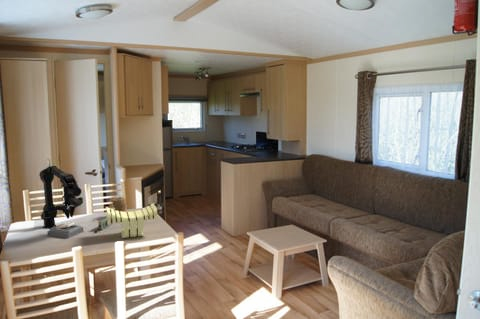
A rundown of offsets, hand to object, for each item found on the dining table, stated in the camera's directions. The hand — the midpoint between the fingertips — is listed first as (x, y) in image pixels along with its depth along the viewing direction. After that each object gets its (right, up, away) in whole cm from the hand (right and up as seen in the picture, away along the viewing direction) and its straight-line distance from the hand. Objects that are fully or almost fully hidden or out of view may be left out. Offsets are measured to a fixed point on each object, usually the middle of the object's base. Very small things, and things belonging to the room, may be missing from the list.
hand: (70, 217), depth 259 cm
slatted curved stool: (+40, -11, +1) cm, 42 cm away
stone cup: (+22, -6, +40) cm, 46 cm away
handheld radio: (+18, -9, +16) cm, 26 cm away
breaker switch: (-4, -5, +2) cm, 7 cm away
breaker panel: (-4, -11, +3) cm, 12 cm away
